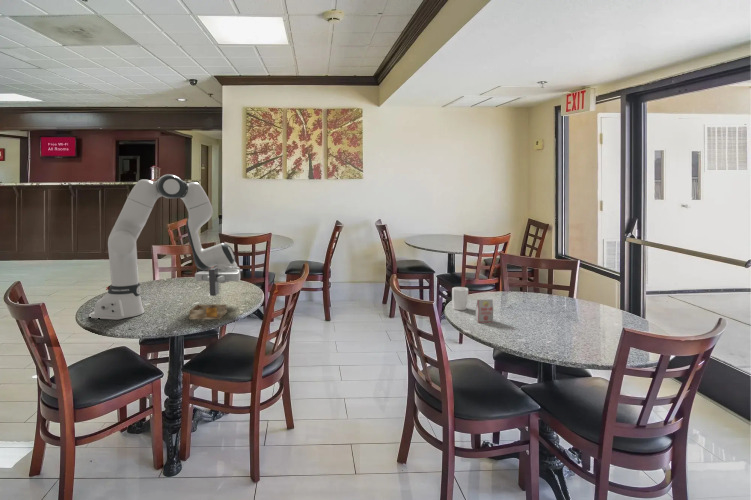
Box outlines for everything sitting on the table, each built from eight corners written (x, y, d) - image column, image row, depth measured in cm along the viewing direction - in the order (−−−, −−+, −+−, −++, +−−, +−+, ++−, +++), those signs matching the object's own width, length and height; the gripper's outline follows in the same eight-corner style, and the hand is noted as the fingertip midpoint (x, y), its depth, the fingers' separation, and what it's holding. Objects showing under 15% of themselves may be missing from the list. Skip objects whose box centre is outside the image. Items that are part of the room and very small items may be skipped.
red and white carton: (475, 320, 209) (476, 298, 207) (490, 319, 209) (491, 298, 208) (477, 322, 205) (478, 300, 204) (492, 322, 206) (493, 300, 204)
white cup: (456, 311, 222) (457, 291, 221) (448, 307, 230) (449, 287, 228) (470, 309, 225) (471, 289, 224) (461, 305, 233) (462, 286, 231)
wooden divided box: (189, 319, 206) (188, 308, 206) (197, 311, 218) (197, 301, 217) (219, 319, 207) (219, 308, 206) (227, 311, 218) (226, 301, 218)
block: (210, 295, 209) (208, 269, 207) (213, 293, 214) (212, 267, 212) (215, 295, 209) (214, 269, 207) (218, 293, 214) (217, 267, 212)
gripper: (199, 267, 222) (189, 272, 208) (242, 267, 223) (235, 272, 209) (200, 280, 223) (190, 286, 209) (243, 279, 224) (235, 286, 210)
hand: (213, 279), depth 209 cm, fingers closed on block, 2 cm apart
